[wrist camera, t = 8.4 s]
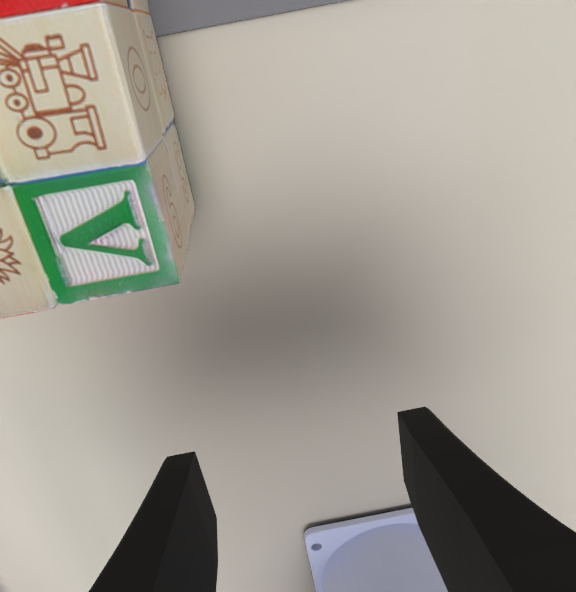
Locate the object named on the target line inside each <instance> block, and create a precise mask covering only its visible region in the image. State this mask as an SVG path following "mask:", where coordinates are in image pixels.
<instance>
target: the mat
mask: <svg viewBox="0 0 576 592" xmlns="http://www.w3.org/2000/svg"><path fill="white" fill-rule="evenodd" d="M147 1H148V7H149V13H150V16H151V19H152V23H153V27H154V31H155V36H156V37H157V36H162V35H167V34H173V33H178V32H183V31H188V30H194V29H199V28H204V27H210V26H215V25H220V24H225V23H231V22H236V21H241V20H247V19H252V18H257V17H263V16H268V15H273V14H278V13H284V12H289V11H294V10H300V9H305V8H310V7H315V6H321V5H326V4H331V3H337V2H342V1H347V0H147Z"/></svg>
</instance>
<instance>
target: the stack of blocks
mask: <svg viewBox="0 0 576 592" xmlns="http://www.w3.org/2000/svg"><path fill="white" fill-rule="evenodd" d="M174 118H175V117H174V111H173V107H172V103H171V98H170V94H169V90H168V86H167V81H166V77H165V73H164V69H163V65H162V60H161V56H160V52H159V48H158V44H157V40H156V36H155V31H154V27H153V23H152V19H151V16H150V13H149V7H148V1H147V0H0V318H5V317H11V316H17V315H22V314H28V313H34V312H38V311H43V310H48V309H52V308H55V307H56V306H57V305H58V304H71V303H75V302H81V301H87V300H93V299H98V298H103V297H109V296H114V295H119V294H125V293H130V292H135V291H141V290H146V289H152V288H157V287H163V286H168V285H173V284H178V283H179V282H180V279H181V275H182V271H183V266H184V262H185V258H186V254H187V250H188V246H189V234H190V230H191V226H192V221H193V216H194V212H195V205H194V200H193V196H192V192H191V188H190V184H189V180H188V176H187V172H186V168H185V164H184V159H183V155H182V150H181V146H180V141H179V137H178V134H177V130H176V127H175V125H174V123H173V121H174Z"/></svg>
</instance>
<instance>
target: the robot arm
mask: <svg viewBox="0 0 576 592" xmlns="http://www.w3.org/2000/svg"><path fill="white" fill-rule="evenodd" d="M398 423H399V433H400V444H401V455H402V465H403V476H404V482H405V485H406V489H407V492H408V495H409V498H410V501H411V504H412V507H413V508H408V509H403V510H398V511H392V512H387V513H382V514H377V515H372V516H367V517H362V518H357V519H352V520H346V521H341V522H336V523H331V524H326V525H321V526H316V527H311V528H309V529H308V530H306V531H305V533H304V539H305V544H306V549H307V553H308V558H309V562H310V566H311V571H312V575H313V580H314V584H315V589H316V592H576V532H574V531H573V530H571V529H570V528H568V527H567V526H565V525H564V524H562V523H561V522H560V521H558V520H557V519H555V518H554V517H553V516H551V515H550V514H548V513H547V512H546V511H544V510H543V509H542V508H540V507H539V506H538V505H536V504H535V503H534V502H532V501H531V500H530V499H529V498H527V497H526V496H525V495H523V494H522V493H521V492H520V491H518V490H517V489H516V488H514V487H513V486H512V485H511V484H510V483H508V482H507V481H506V480H505V479H503V478H502V477H501V476H500V475H499V474H498V473H496V472H495V471H494V470H493V469H492V468H491V467H489V466H488V465H487V464H486V463H485V462H484V461H483V460H481V459H480V458H479V457H478V456H477V455H476V454H475V453H474V452H472V451H471V450H470V449H469V448H468V447H467V446H466V445H465V444H464V443H463V442H462V441H461V440H460V439H458V438H457V437H456V436H455V435H454V434H453V433H452V432H451V431H450V430H449V429H448V428H447V427H446V426H445V425H444V424H443V423H442V422H441V421H440V420H439V419H438V418H437V417H436V416H435V415H434V414H433V413H432V412H431V410H429V409H428V408H426V407H421V408H416V409H411V410H406V411H401V412H398ZM316 543H317V544H316ZM217 568H218V549H217V519H216V514H215V511H214V508H213V505H212V502H211V499H210V496H209V493H208V490H207V487H206V484H205V481H204V478H203V475H202V472H201V469H200V465H199V462H198V459H197V456H196V453H195V452H189V453H184V454H179V455H174V456H169V457H167V458H166V459H165V461H164V462H163V464H162V466H161V468H160V470H159V472H158V474H157V476H156V478H155V480H154V482H153V484H152V486H151V487H150V489H149V491H148V493H147V495H146V497H145V499H144V501H143V503H142V504H141V506H140V508H139V510H138V512H137V514H136V515H135V517H134V519H133V521H132V522H131V524H130V526H129V527H128V529H127V531H126V533H125V534H124V536H123V538H122V540H121V541H120V543H119V545H118V546H117V548H116V550H115V551H114V553H113V555H112V556H111V558H110V559H109V561H108V562H107V564H106V566H105V567H104V569H103V570H102V572H101V573H100V575H99V577H98V578H97V580H96V581H95V583H94V584H93V586H92V587H91V589H90V590H89V592H216V581H217Z"/></svg>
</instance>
